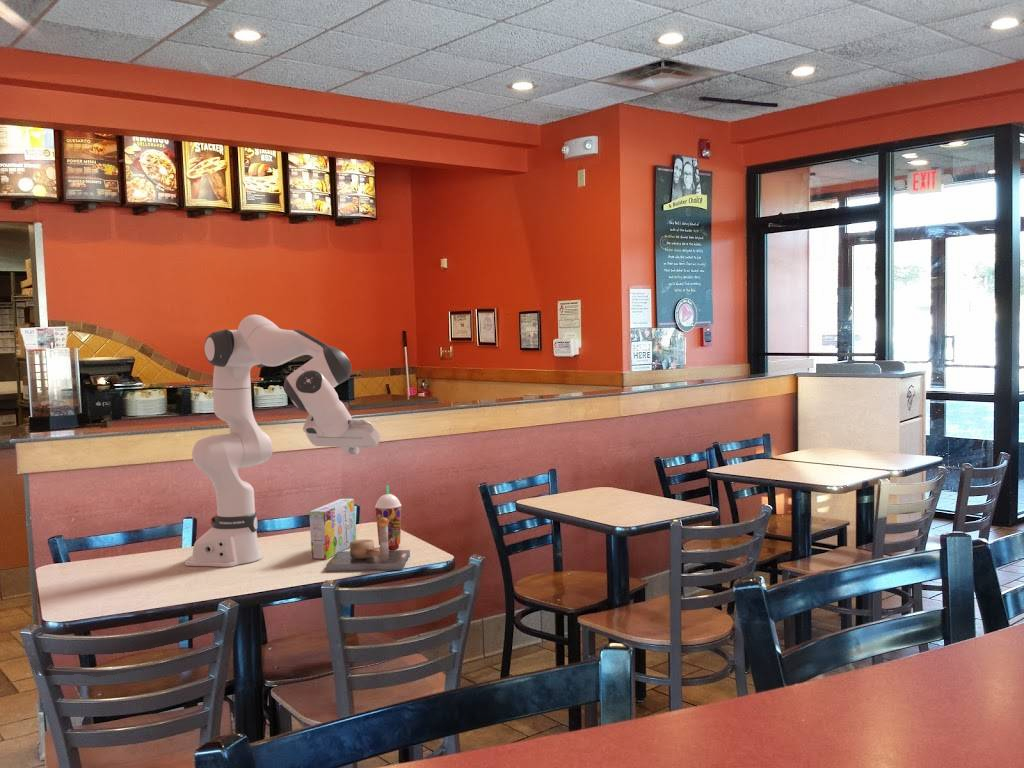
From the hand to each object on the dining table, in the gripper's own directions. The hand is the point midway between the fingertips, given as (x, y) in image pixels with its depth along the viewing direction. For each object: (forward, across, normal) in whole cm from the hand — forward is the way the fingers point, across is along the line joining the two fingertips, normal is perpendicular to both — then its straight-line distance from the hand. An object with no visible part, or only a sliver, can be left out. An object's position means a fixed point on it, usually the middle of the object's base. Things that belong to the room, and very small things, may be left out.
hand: (354, 452), depth 248 cm
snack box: (+45, +25, +6) cm, 52 cm away
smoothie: (+51, +10, 0) cm, 52 cm away
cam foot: (+33, +4, +13) cm, 36 cm away
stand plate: (+36, +6, +13) cm, 39 cm away
